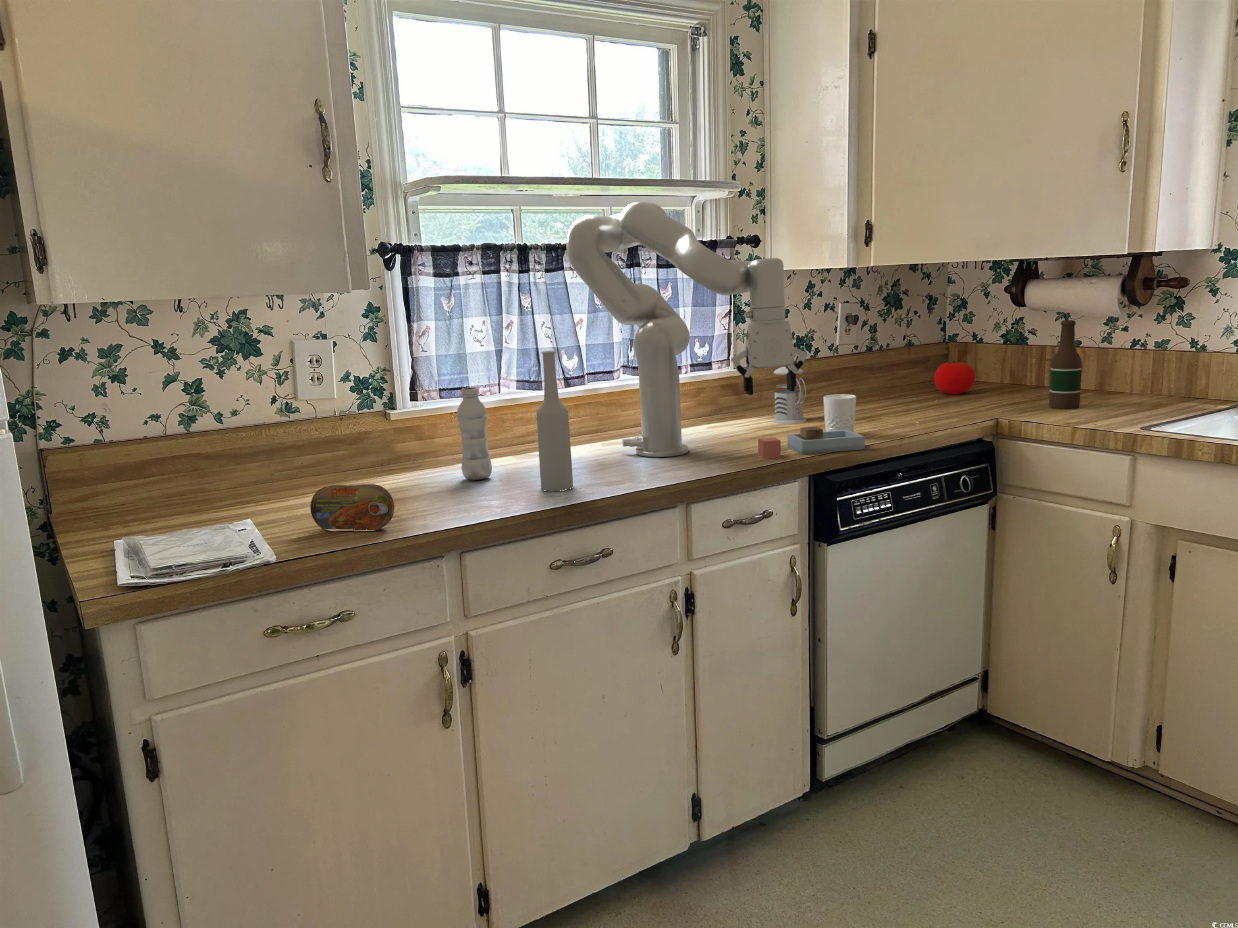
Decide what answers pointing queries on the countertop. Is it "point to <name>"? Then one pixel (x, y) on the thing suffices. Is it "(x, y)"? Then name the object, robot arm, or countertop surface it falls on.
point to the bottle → (553, 433)
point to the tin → (352, 507)
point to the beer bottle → (1065, 371)
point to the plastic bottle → (473, 435)
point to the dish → (827, 442)
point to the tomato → (954, 377)
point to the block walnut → (811, 433)
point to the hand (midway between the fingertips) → (770, 392)
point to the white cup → (839, 412)
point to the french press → (788, 401)
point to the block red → (769, 447)
